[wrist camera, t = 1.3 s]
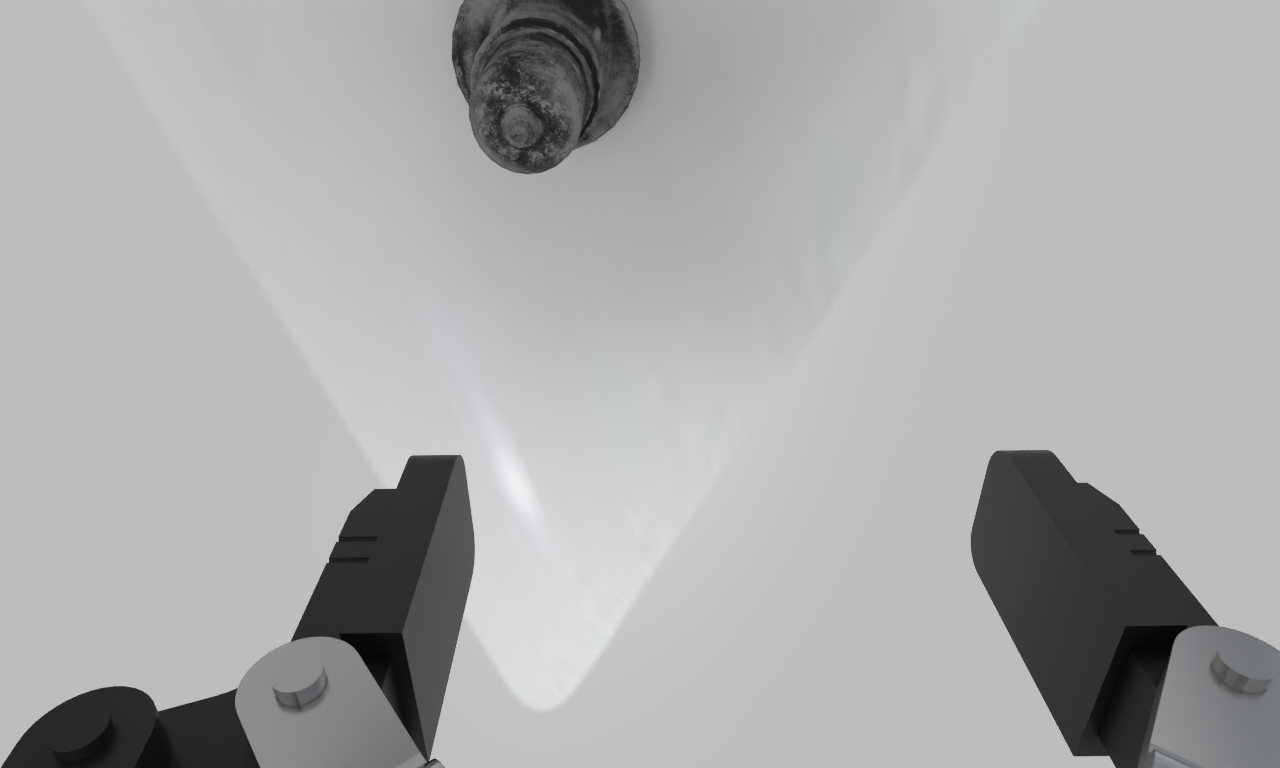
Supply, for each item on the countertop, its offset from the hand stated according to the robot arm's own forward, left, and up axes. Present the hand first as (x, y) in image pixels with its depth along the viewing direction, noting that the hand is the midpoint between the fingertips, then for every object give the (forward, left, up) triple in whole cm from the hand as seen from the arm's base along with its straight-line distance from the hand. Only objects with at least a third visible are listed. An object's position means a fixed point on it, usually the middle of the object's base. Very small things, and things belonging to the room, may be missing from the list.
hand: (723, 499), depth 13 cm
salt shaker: (-4, +2, -21) cm, 22 cm away
